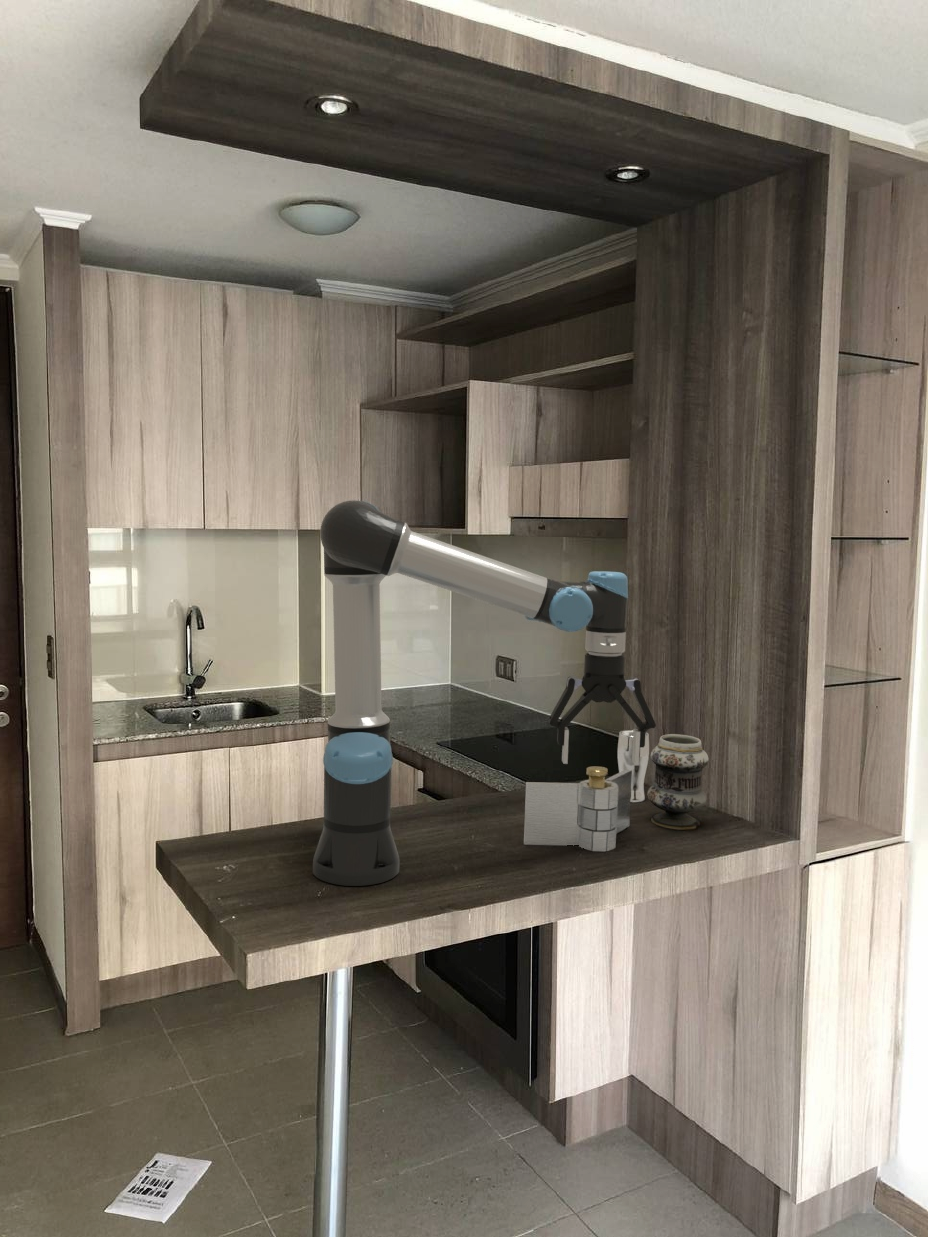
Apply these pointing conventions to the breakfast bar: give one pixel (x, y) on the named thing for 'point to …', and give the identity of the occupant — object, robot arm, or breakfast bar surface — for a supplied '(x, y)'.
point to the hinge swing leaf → (613, 816)
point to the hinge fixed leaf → (567, 814)
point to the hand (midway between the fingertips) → (599, 763)
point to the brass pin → (597, 776)
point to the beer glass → (626, 763)
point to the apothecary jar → (677, 781)
